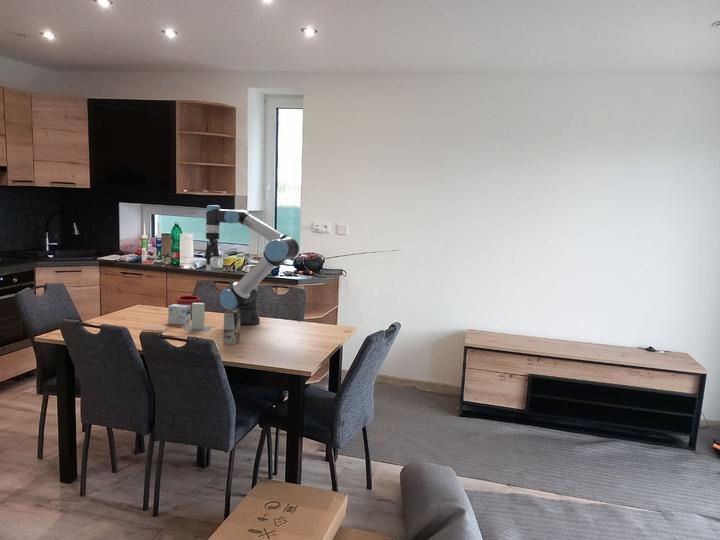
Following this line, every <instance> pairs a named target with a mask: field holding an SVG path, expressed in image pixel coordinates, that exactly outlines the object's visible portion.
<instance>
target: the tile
mask: <svg viewBox="0 0 720 540" xmlns="http://www.w3.org/2000/svg"><path fill="white" fill-rule="evenodd" d="M167 330H169V326H168V325H166V326H165V325H164V326H163V325H146V326H144V327H143V328H142V329H141V332H142V331H156V332H155V333H161V332H162V333H165V332H166V331H167Z"/></svg>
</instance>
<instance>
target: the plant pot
mask: <svg viewBox="0 0 720 540" xmlns="http://www.w3.org/2000/svg"><path fill="white" fill-rule="evenodd" d="M200 300H201V299H200V297H199V296H196V295H195V296H194V295H181V296H178V297H177V299H176V302H177V303H176V304H178V305H191V312H190V319H192V303H201V301H200Z"/></svg>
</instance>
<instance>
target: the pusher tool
mask: <svg viewBox="0 0 720 540" xmlns="http://www.w3.org/2000/svg"><path fill="white" fill-rule="evenodd" d="M205 304H206V303H205V302H200V303H192V318H191V325H192V328H191V329H204V326H205V306H206V305H205Z"/></svg>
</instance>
